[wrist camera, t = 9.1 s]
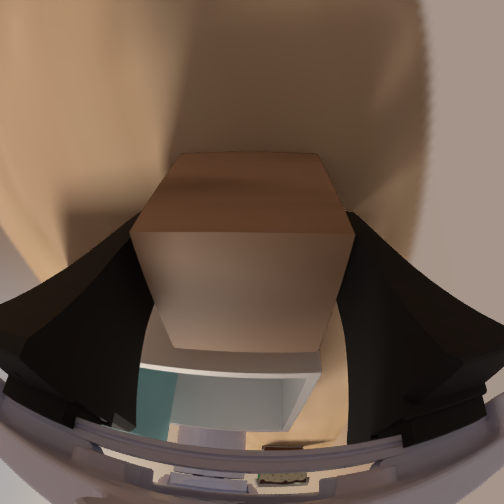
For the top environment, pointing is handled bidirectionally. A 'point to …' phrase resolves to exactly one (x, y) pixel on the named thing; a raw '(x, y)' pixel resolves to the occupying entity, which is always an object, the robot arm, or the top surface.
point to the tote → (232, 383)
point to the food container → (284, 478)
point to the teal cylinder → (154, 403)
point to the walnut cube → (244, 251)
